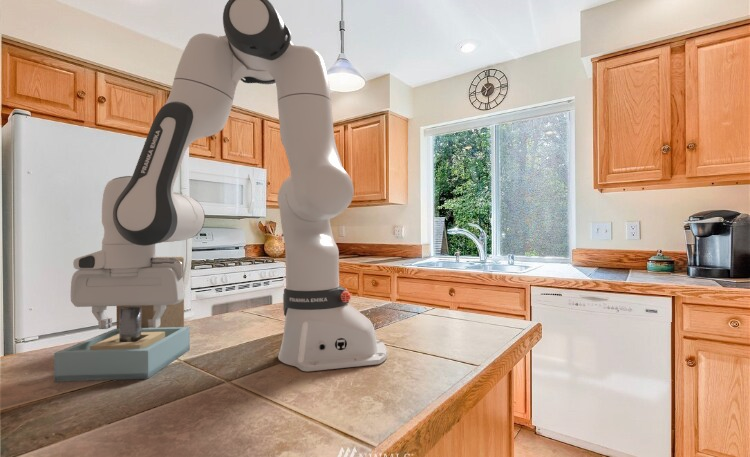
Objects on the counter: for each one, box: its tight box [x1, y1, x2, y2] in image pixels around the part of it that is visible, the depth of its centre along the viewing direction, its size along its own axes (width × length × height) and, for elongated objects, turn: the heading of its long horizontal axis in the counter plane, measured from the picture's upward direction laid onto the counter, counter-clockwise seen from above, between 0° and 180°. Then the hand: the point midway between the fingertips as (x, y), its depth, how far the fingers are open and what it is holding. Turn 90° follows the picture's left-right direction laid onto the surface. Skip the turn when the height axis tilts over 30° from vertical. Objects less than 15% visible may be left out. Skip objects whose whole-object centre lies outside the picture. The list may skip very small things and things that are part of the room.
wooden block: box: [116, 256, 185, 329], centre depth 87 cm, size 10×10×20 cm
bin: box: [53, 326, 191, 383], centre depth 72 cm, size 16×16×5 cm
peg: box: [119, 306, 142, 342], centre depth 72 cm, size 4×4×10 cm
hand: (129, 327), depth 72 cm, fingers open, 8 cm apart
